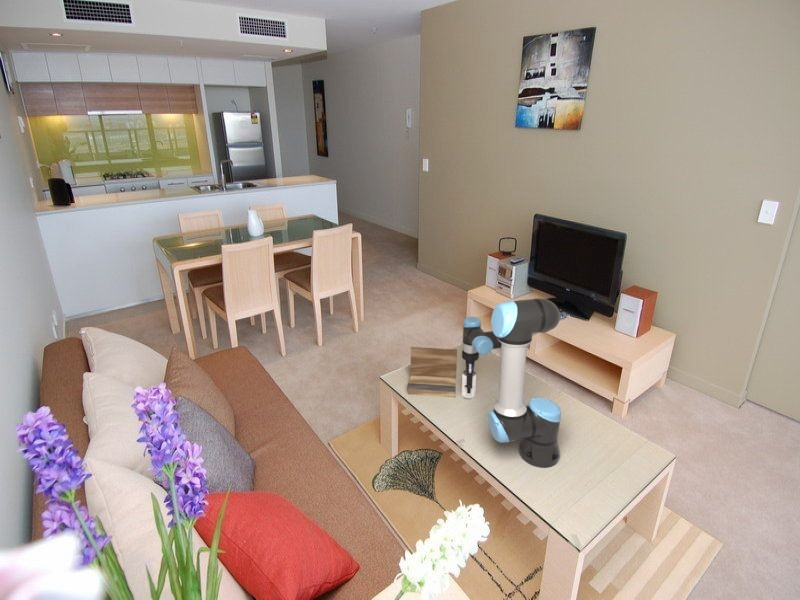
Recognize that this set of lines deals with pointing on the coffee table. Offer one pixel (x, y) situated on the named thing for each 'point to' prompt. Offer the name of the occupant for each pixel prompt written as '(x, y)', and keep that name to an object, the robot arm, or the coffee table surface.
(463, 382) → the can
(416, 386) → the brown piece
